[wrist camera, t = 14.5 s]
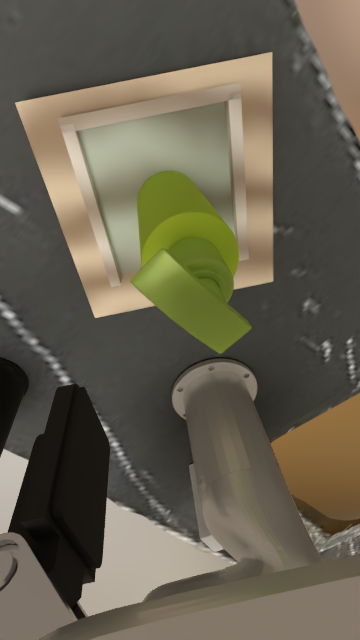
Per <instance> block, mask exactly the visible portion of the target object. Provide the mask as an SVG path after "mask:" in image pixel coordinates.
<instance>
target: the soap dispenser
mask: <svg viewBox="0 0 360 640" xmlns="http://www.w3.org/2000/svg"><path fill="white" fill-rule="evenodd" d="M137 214H138V227H139V240H140V253H141V266H142V268H141V269H140V270H139V271H138V272H137V273H136V274H135V276H134V277H133V278H132V279H131V280H130V282H131V283H132V284H133V285H134V286H135V287H136V288H137V289H138V290H139V291H140V292H141V293H142V294H143V295H144V296H145V297H146V298H147V299H149V300H150V301H151V302H152V303H153V304H154V305H155V306H156V307H158V308H159V309H160V310H161V311H162V312H163V313H165V314H166V315H167V316H168V317H169V318H171V319H172V320H173V321H174V322H176V323H177V324H178V325H179V326H181V327H182V328H183V329H185V330H186V331H187V332H189V333H190V334H192V335H193V336H194V337H196V338H197V339H199V340H200V341H201V342H203V343H204V344H206V345H207V346H209V347H210V348H211V349H213V350H214V351H216V352H217V353H219V354H222V353H223V352H224V351H225V350H226V349H228V348H229V347H230V346H231V345H232V344H234V343H235V342H236V341H237V340H239V339H240V338H241V337H242V336H243V335H245V334H246V333H247V332H248V331H249V330H251V329H252V328H251V326H250V324H249V322H248V321H247V320H246V319H245V318H244V317H242V316H241V315H240V314H239V313H238V312H237V311H235V310H234V309H233V308H232V307H231V306H230V305H228V304H227V303H228V301H229V300H230V298H231V296H232V293H233V289H234V281H233V277H234V275H235V273H236V270H237V267H238V263H239V247H238V243H237V240H236V237H235V235H234V233H233V232H232V230H231V229H230V228H229V226H228V225H227V224H226V223H225V221H224V220H223V219H222V218H221V216H220V215H219V214H218V213H217V211H216V210H215V209H214V208H213V206H212V205H211V204H210V203H209V201H208V200H207V199H206V198H205V196H204V195H203V194H202V193H201V191H200V190H199V189H198V188H197V186H196V185H195V184H194V183H193V182H192V180H191V179H189V178H188V177H187V176H185V175H184V174H182V173H179V172H175V171H163V172H159V173H157V174H155V175H153V176H151V177H150V178H149V179H148V180H147V181H146V182H145V183H144V184H143V186H142V187H141V189H140V191H139V194H138V198H137Z"/></svg>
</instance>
